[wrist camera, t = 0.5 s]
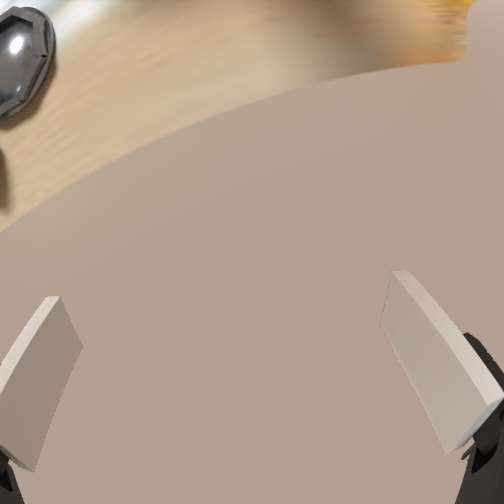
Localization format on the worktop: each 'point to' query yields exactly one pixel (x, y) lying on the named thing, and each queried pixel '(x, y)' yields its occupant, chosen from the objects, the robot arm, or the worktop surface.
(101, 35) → the worktop surface
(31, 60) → the ring plate
